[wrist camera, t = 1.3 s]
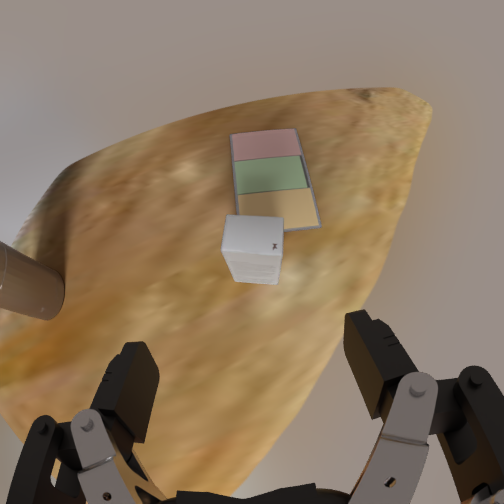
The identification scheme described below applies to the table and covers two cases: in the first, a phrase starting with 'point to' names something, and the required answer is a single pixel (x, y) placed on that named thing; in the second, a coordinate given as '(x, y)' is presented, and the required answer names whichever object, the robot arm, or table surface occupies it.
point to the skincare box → (253, 248)
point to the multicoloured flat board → (273, 178)
